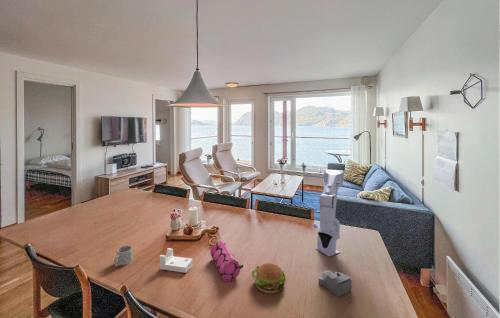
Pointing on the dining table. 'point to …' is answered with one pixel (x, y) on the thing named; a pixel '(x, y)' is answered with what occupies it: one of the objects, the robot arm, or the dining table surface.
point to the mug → (124, 256)
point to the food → (269, 278)
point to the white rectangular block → (329, 274)
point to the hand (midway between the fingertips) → (325, 247)
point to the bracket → (175, 262)
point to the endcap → (337, 283)
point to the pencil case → (225, 261)
